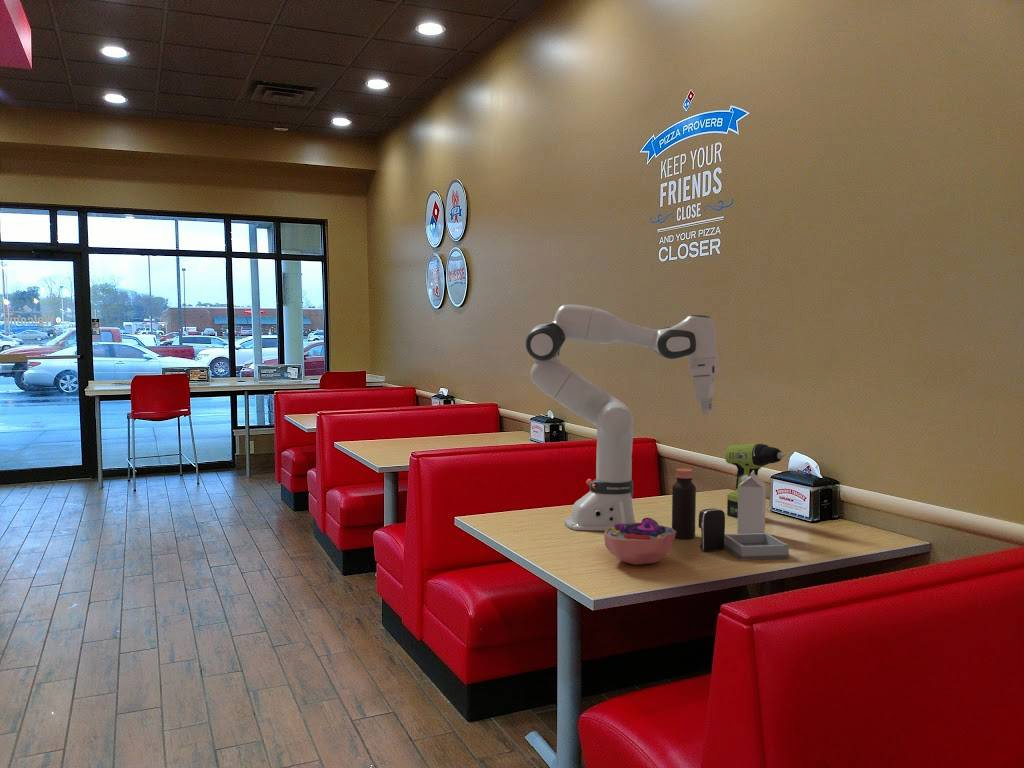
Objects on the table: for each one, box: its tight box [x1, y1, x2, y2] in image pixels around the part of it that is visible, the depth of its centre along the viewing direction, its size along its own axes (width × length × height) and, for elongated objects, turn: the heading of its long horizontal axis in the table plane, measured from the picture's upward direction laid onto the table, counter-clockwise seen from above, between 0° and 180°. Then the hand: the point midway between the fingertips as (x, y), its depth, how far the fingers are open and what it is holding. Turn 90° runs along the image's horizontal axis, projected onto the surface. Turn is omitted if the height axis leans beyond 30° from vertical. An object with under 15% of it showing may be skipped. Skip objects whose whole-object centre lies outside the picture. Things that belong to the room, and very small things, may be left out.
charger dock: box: [724, 532, 790, 561], centre depth 206 cm, size 13×13×4 cm
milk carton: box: [736, 470, 767, 534], centre depth 224 cm, size 7×7×19 cm
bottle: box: [671, 468, 697, 540], centre depth 222 cm, size 7×7×20 cm
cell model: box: [603, 517, 676, 566], centre depth 197 cm, size 17×20×11 cm
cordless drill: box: [724, 443, 787, 519], centre depth 242 cm, size 23×7×25 cm, turn 28°
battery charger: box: [698, 507, 726, 552], centre depth 209 cm, size 7×4×11 cm, turn 112°
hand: (707, 412), depth 230 cm, fingers open, 8 cm apart
